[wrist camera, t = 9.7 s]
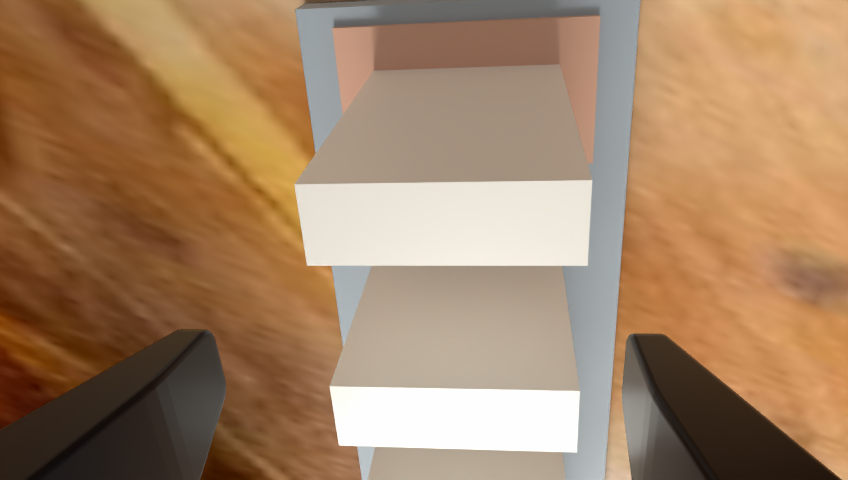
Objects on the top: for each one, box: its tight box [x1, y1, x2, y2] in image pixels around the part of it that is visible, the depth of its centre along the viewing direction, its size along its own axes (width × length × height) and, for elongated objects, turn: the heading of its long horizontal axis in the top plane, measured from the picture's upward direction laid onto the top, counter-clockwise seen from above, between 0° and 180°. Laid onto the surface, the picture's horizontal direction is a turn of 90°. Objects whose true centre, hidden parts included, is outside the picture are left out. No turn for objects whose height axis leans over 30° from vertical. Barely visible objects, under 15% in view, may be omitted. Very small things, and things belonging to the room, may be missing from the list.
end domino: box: [294, 64, 592, 266], centre depth 16 cm, size 2×5×8 cm, turn 94°
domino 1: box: [330, 266, 580, 453], centre depth 18 cm, size 2×5×8 cm, turn 94°
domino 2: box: [368, 447, 565, 480], centre depth 20 cm, size 2×5×8 cm, turn 94°
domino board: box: [295, 0, 640, 480], centre depth 24 cm, size 23×9×1 cm, turn 4°
